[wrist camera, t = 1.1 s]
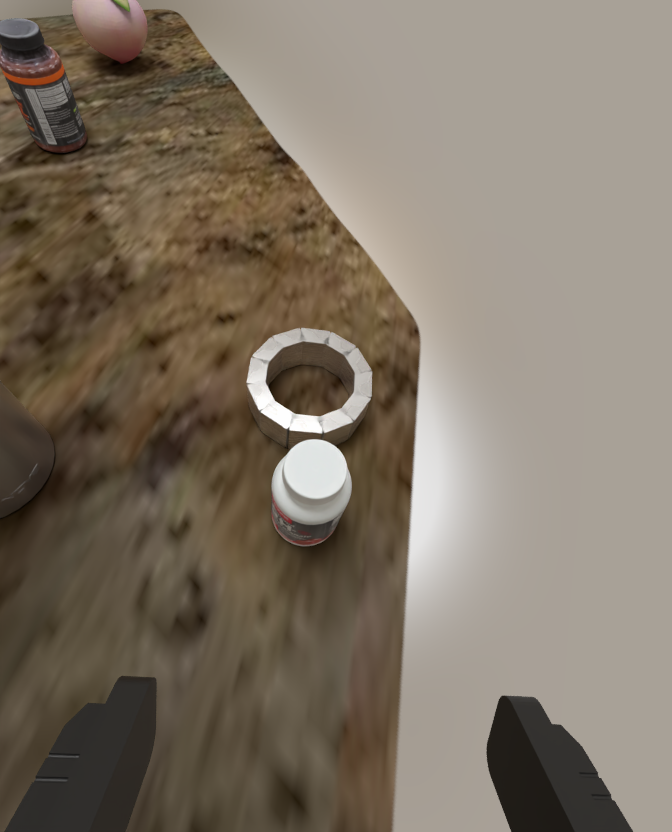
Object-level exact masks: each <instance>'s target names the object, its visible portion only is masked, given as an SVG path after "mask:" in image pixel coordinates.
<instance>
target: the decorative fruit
mask: <svg viewBox="0 0 672 832" xmlns="http://www.w3.org/2000/svg"><path fill="white" fill-rule="evenodd" d="M72 8H73V15H74V19H75V22H76V24H77V26H78V29H79V31H80V32H81V34H82V36H83V37H84V39H85V40H86V41H87V42H88V44H89V45H90V46H92V47H93V48H94V49H95V50H97V51H98V52H100V53H102V54H104V55H106V56H108V57H110V58H112V59H114V60H117V61H119V62H120V63H121V64H123V63H126V62H128V61H130V60H132V59H134V58H135V57H136V56H137V55H138V54H139V53H140V52H141V50H142V49H143V47H144V45H145V42H146V38H147V20H146V17H145V14H144V12H143V10H142V8H141V6H140V5H139V3H138V2H137V1H136V0H73V3H72Z"/></svg>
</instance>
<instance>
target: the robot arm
mask: <svg viewBox="0 0 672 832" xmlns="http://www.w3.org/2000/svg"><path fill="white" fill-rule="evenodd" d="M54 456H55V452H54V444H53V441H52V439H51V436H50V434H49V433H48V432H47V431H46V429H45V428H44V427H43V426H42V425H41V424H40V423H39V422H38V420H37V419H36V418H35V417H34V416H33V415H32V414H31V413H30V412H29V411H28V410H27V409H26V408H25V407H24V406H23V405H22V403H21V402H20V401H19V400H18V399H17V398H16V397H15V396H14V395H13V394H12V393H11V392H10V391H9V390H8V389H7V388H6V387H5V386H4V385H3V384H2V383H1V382H0V518H2V517H5V516H7V515H9V514H11V513H12V512H14V511H16V510H18V509H19V508H21V507H22V506H23V505H25V504H26V503H27V502H28V501H30V500H31V499H32V498H33V497H34V496H35V495H36V494H37V493H38V492H39V490H40V489H41V488H42V487H43V485H44V484H45V482H46V480H47V479H48V477H49V475H50V472H51V470H52V467H53V463H54ZM155 732H156V678H152V677H131V676H121V677H119V679H118V680H117V682H116V683H115V685H114V687H113V689H112V691H111V693H110V695H109V697H108V699H107V701H106V703H105V704H96V703H87V704H86V705H85V706H84V707H83V708H82V709H81V710H80V711H79V712H78V713H77V714H76V715H75V716H74V717H73V718H72V719H71V720H70V721H69V722H68V723H67V724H66V725H65V726H64V728H63V729H62V731H61V733H60V735H59V736H58V738H57V740H56V742H55V744H54V745H53V747H52V749H51V751H50V752H49V756H48V758H46V759H45V761H44V763H43V765H42V766H41V768H40V770H39V772H38V774H37V775H36V779H35V781H34V782H32V784H31V786H30V788H29V789H28V791H27V793H26V795H25V796H24V798H23V800H22V802H21V803H20V805H19V807H18V809H17V811H16V812H15V814H14V816H13V818H12V819H11V821H10V823H9V825H8V826H7V828H6V830H5V832H125V831H126V829H127V826H128V823H129V820H130V817H131V814H132V811H133V808H134V805H135V802H136V799H137V796H138V794H139V791H140V788H141V785H142V782H143V779H144V776H145V773H146V770H147V767H148V764H149V761H150V758H151V754H152V750H153V745H154V739H155ZM487 762H488V768H489V772H490V775H491V778H492V781H493V783H494V786H495V789H496V792H497V795H498V797H499V800H500V803H501V805H502V808H503V811H504V813H505V816H506V819H507V821H508V824H509V827H510V829H511V832H633V831H632V829H631V827H630V826H629V824H628V823H627V821H626V819H625V817H624V816H623V814H622V812H621V811H620V809H619V807H618V806H617V804H616V802H615V801H613V800H612V799H611V794H610V792H609V791H608V789H607V787H606V786H605V784H604V782H603V781H602V779H601V778H599V777H598V772H597V771H596V769H595V767H594V766H593V764H592V762H591V761H590V759H589V757H588V756H587V754H586V752H585V751H584V749H583V747H582V746H581V745H580V744H579V743H578V742H577V741H576V740H575V739H574V738H573V737H572V736H571V735H570V734H569V733H568V732H567V731H566V730H565V729H564V728H563V727H562V726H561V725H555V724H551V722H550V720H549V718H548V717H547V715H546V713H545V711H544V709H543V708H542V706H541V704H540V703H539V702H538V700H537V699H536V698H534V697H522V696H501V698H500V699H499V701H498V705H497V709H496V712H495V716H494V720H493V724H492V728H491V731H490V735H489V738H488V742H487Z"/></svg>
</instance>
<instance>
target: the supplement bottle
mask: <svg viewBox="0 0 672 832" xmlns="http://www.w3.org/2000/svg"><path fill="white" fill-rule="evenodd" d="M0 43H1V45H2V50H0V67H1V69H2V71H3V73H4V75H5V78H6V80H7V82H8V84H9V87H10V89H11V91H12V93H13V95H14V97H15V100H16V102H17V104H18V106H19V108H20V111H21V113H22V115H23V117H24V119H25V122H26V124H27V126H28V129H29V131H30V133H31V135H32V137H33V138H34V140H35V142H36V143H37V145H38V146H40V147H41V148H42V149H44V150H47V151H51V152H56V153H66V152H71V151H74V150H77V149H79V148H81V147H82V146H83V145H84V144H85V142H86V140H87V134H86V131H85V127H84V124H83V121H82V118H81V116H80V113H79V110H78V107H77V104H76V101H75V98H74V95H73V93H72V90H71V87H70V84H69V81H68V78H67V76H66V73H65V70H64V67H63V64H62V62H61V60H60V57H59V56H58V54H57V53H56V52H55V51H54V50H53V49H52V48H51V47H49V46H47V45H45V44H44V38H43V37H42V34H41V32H40V29H39V27H38V25H37V24H36V23H34V22H32V21H30V20H26V19H20V18H14V19H6V20H2V21H0Z"/></svg>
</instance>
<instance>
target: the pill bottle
mask: <svg viewBox="0 0 672 832" xmlns="http://www.w3.org/2000/svg"><path fill="white" fill-rule="evenodd" d="M271 488H272V505H271V512H272V520H273V523H274V526H275V528H276V530H277V532H278V533H279V534H280V535H281V536H282V537H283V538H284V539H285V540H287V541H288V542H290V543H292V544H295V545H299V546H312V545H316V544H319V543H321V542H323V541H324V540H326V539H327V538H328V537H329V536H330V535H331V534H332V533H333V531H334V530H335V528H336V526H337V524H338V522H339V520H340V518H341V516H342V514H343V512H344V510H345V508H346V506H347V504H348V502H349V499H350V495H351V489H352V482H351V476H350V473H349V471H348V468H347V464H346V460H345V458H344V456H343V454H342V453H341V451H340V450H339V449H338V448H337V447H335V446H334V445H332V444H331V443H329V442H327V441H324V440H318V439H311V440H305V441H302V442H300V443H298V444H296V445H295V446H294V447H293V448H292V449H291V450H290V451H289V452H288V454H287V455H286V456H285V457H284V458H283V459H282V460H281V461H280V462H279V464H278V465H277V467H276V469H275V471H274V474H273V478H272V487H271Z"/></svg>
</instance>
